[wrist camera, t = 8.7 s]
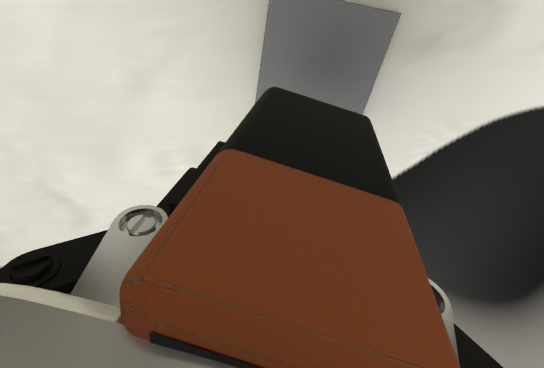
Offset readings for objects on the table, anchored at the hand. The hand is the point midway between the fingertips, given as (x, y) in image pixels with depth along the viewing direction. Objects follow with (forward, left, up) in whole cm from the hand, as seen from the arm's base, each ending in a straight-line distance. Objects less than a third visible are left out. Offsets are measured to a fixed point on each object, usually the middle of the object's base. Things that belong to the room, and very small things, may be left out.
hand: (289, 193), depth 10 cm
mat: (0, 0, -19) cm, 19 cm away
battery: (0, 0, -2) cm, 2 cm away
